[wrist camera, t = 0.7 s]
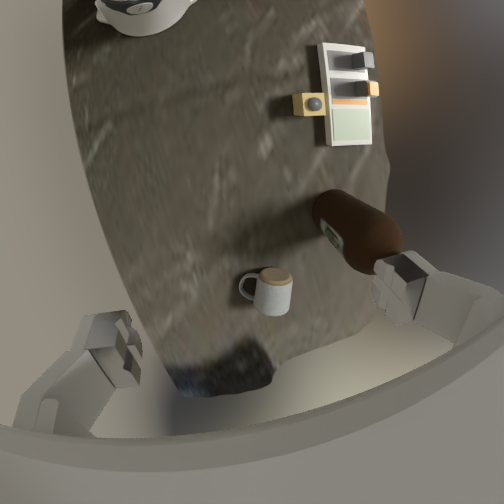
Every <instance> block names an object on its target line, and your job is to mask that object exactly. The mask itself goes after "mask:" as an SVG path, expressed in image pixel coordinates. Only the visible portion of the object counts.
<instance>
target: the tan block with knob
mask: <svg viewBox="0 0 504 504" xmlns="http://www.w3.org/2000/svg"><path fill="white" fill-rule="evenodd" d="M292 99H293V109H294V115H296V116H317V115H326V110H325V98H324V93H299V94H292Z"/></svg>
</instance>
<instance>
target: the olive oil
mask: <svg viewBox="0 0 504 504" xmlns="http://www.w3.org/2000/svg"><path fill="white" fill-rule="evenodd" d="M313 220H314V222H315V224H316V226H317V227H318V228H319V229H320V230H321V231H322V232H323V234H324V235H325V236H326V237H327V238H328V239H329V241H330V242H331V243H332V244H333V245H334V247H335V248H336V249H337V250H338V252H339V253H340V254H341V255H342V257H343V258H344V259H345V260H346V262H347V263H348V264H349V265H350V266H351V267H352V268H354V269H355V270H357V271H359V272H361V273H364V274H368V275H376V274H375V272H374V265H375V263H376V261H377V260H378V259H382V258H386V257H390V256H394V255H398V254H400V253H401V250H402V235H401V232H400V229H399V227H398V226H397V224H396V223H395V221H394V220H393V219H392V218H391V217H390V216H388V215H387V214H385V213H383V212H381V211H379V210H377V209H376V208H374V207H372V206H370V205H368V204H366V203H364V202H362V201H360V200H358V199H357V198H355V197H353V196H351V195H349V194H347V193H346V192H344V191H341V190H330V191H327V192H325V193H324V194H322V195H321V196H320V197H319V198H318V200H317V201H316V203H315V205H314V208H313Z"/></svg>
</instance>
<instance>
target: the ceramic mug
mask: <svg viewBox="0 0 504 504" xmlns="http://www.w3.org/2000/svg"><path fill="white" fill-rule="evenodd" d="M249 277H254V278H257V284H256V291H255V296H252V295H250V294H248V293H246V292H245V291H244V289H243V283H244V281H245V279H246V278H249ZM291 290H292V276H291V274H290V273H289V272H288V271H286V270H284V269H281V268H276V267H270V268H266V269H263V270H262V271H261V272H260V273H259V274H256V273H248V274H245V275H244V276H243V277H242V278H241V280H240V283H239V291H240V293H241V294H242V295H243V296H244V297H246V298H247V299H250V300H252V301H254V307H255V309H256V310H257V311H258V312H260V313H262V314H264V315H268V316H280V315H283V314H285V313H286V312H287V311H288V310H289V305H290V298H291Z"/></svg>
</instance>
